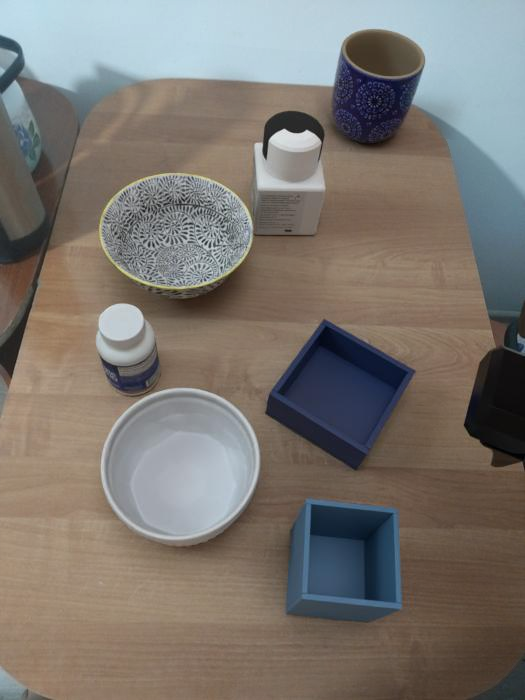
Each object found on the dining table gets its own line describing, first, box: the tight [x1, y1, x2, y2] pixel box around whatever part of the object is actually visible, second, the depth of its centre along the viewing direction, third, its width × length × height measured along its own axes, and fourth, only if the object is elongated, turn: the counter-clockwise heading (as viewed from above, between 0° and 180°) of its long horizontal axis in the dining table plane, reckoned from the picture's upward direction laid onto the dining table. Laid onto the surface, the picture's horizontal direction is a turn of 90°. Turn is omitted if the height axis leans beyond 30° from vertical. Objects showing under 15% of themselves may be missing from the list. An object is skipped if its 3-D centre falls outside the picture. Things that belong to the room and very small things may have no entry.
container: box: [250, 110, 327, 236], centre depth 65 cm, size 8×8×13 cm
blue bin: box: [285, 498, 403, 624], centre depth 45 cm, size 7×7×10 cm
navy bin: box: [265, 318, 416, 471], centre depth 56 cm, size 10×10×4 cm
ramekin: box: [99, 387, 262, 548], centre depth 49 cm, size 13×13×7 cm
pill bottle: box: [95, 303, 161, 397], centre depth 53 cm, size 5×5×10 cm
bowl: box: [98, 172, 255, 300], centre depth 61 cm, size 16×16×8 cm
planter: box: [330, 28, 426, 144], centre depth 76 cm, size 11×11×11 cm
